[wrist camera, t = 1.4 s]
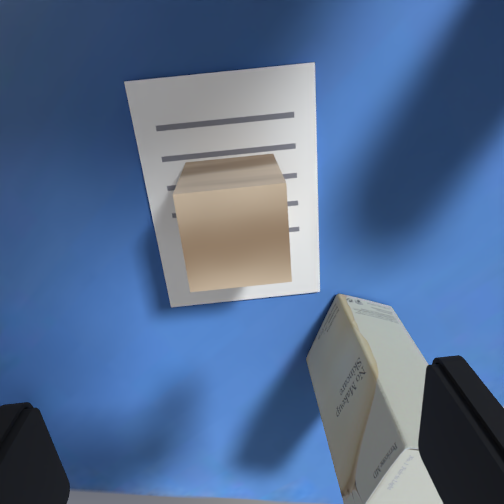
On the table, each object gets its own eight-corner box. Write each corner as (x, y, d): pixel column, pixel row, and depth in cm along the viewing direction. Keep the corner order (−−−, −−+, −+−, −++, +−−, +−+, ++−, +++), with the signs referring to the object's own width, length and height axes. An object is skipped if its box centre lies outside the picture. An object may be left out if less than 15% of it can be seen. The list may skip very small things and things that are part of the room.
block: (185, 162, 23) (172, 194, 18) (273, 153, 23) (286, 182, 18) (198, 242, 26) (190, 292, 20) (278, 233, 26) (291, 281, 20)
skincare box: (336, 290, 28) (404, 441, 17) (394, 305, 29) (496, 459, 18) (303, 361, 31) (345, 532, 20) (358, 373, 31) (427, 544, 20)
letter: (125, 81, 22) (124, 81, 22) (313, 62, 22) (314, 62, 22) (171, 304, 28) (171, 307, 28) (319, 289, 28) (320, 291, 28)
